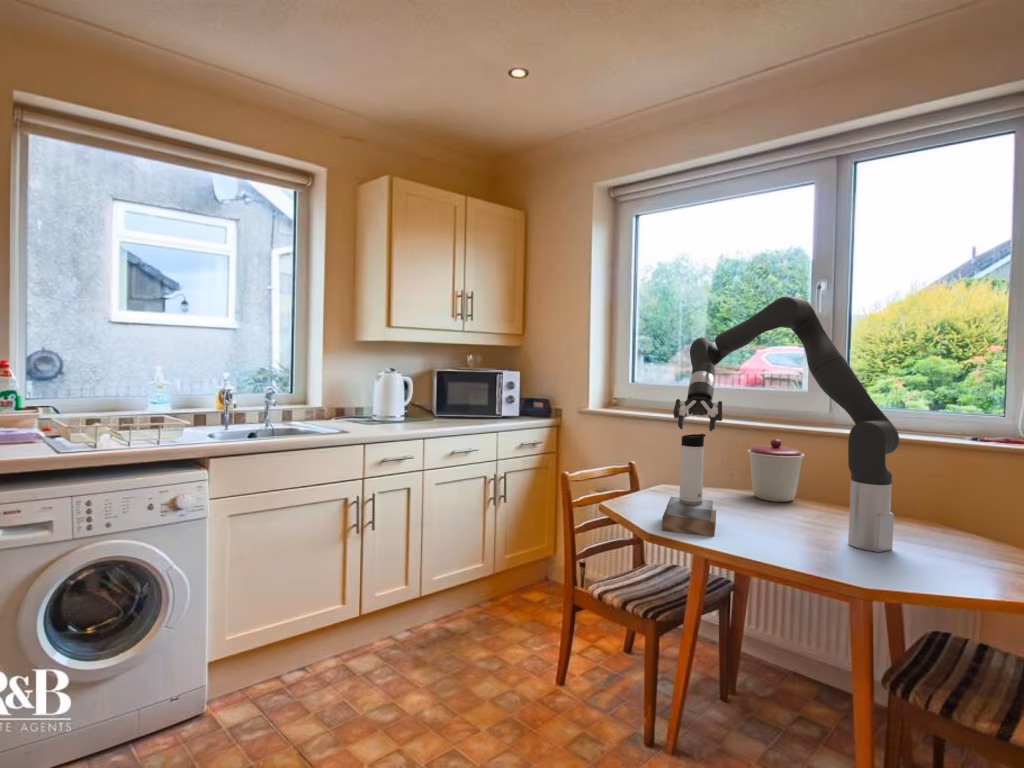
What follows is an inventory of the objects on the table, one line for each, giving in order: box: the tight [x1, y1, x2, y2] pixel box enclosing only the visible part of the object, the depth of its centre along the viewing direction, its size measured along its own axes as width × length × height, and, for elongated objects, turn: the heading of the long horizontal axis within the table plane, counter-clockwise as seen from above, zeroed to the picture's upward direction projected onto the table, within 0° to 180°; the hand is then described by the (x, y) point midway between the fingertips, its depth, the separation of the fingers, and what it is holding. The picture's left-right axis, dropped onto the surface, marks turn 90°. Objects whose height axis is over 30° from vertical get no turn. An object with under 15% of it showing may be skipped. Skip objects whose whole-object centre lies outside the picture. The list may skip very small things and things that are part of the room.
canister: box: [747, 438, 805, 503], centre depth 213 cm, size 18×18×21 cm
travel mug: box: [679, 433, 706, 505], centre depth 175 cm, size 6×7×20 cm
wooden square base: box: [661, 496, 717, 537], centre depth 175 cm, size 14×14×7 cm
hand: (695, 428), depth 182 cm, fingers open, 8 cm apart
